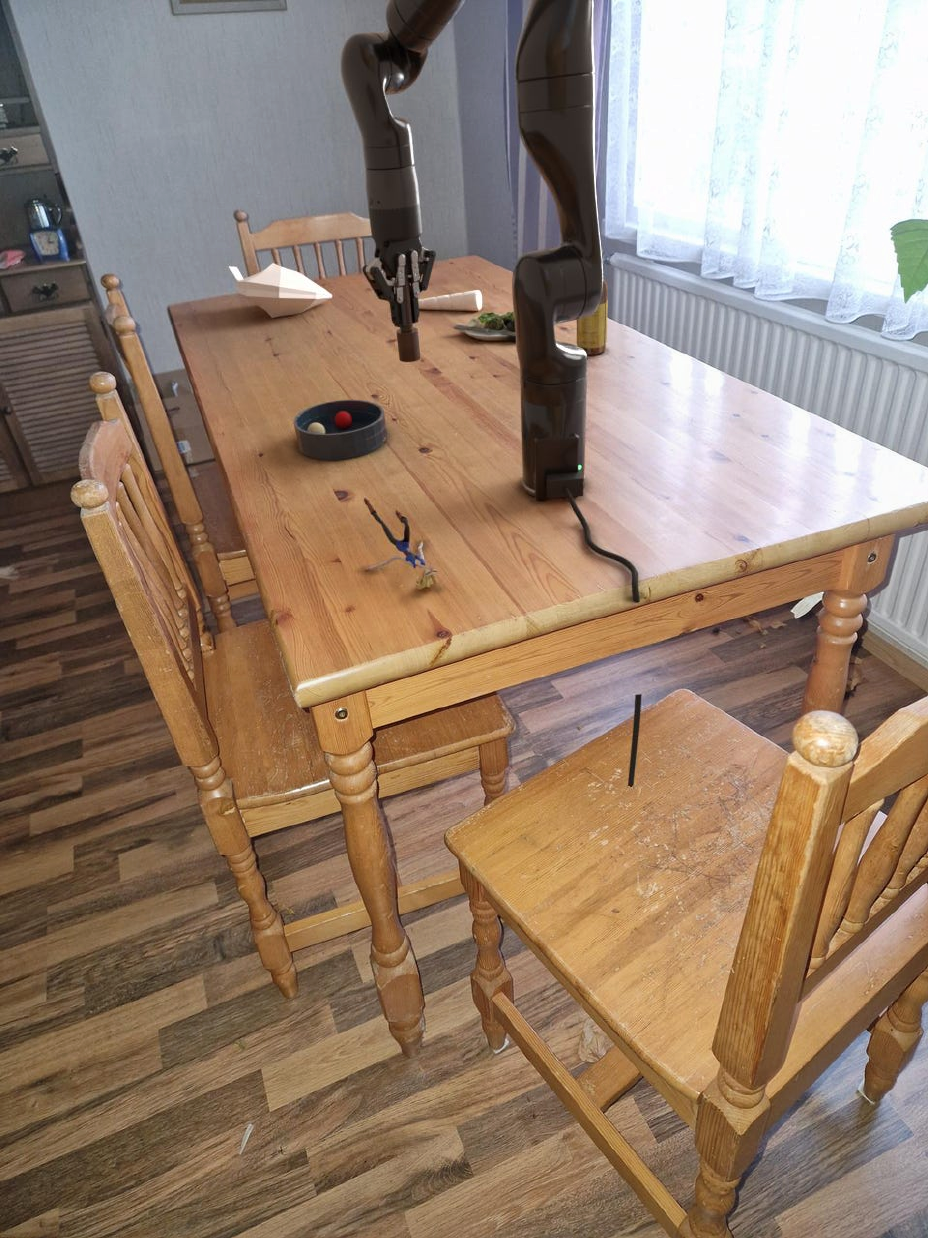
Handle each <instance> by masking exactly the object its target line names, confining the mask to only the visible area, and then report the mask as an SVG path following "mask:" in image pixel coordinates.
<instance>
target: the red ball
mask: <svg viewBox="0 0 928 1238" xmlns="http://www.w3.org/2000/svg"><path fill="white" fill-rule="evenodd" d="M335 423H336V425H337V426H338V427H339V428H341V429H346V428H348V427H349V426H350V425H351V423H352V418H351V416H350V414H349V413H347V412H345V411H341V412H339V413H337V415H336V416H335Z"/></svg>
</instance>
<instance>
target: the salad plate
mask: <svg viewBox="0 0 928 1238" xmlns="http://www.w3.org/2000/svg"><path fill="white" fill-rule="evenodd" d="M452 327H453V329H454V330H457V331H459V332H463V333H464V334H466V335H467V336H470V337H471V338H474V339H476V340H480V341H483V342H516V335H515V320H514V310H513V311H512V312H511V311H507V312H506V313H503V314H502V313H501V314H499V313H498V314H497V313H495V312H494V311H492V312H482V313H481V315H478V316H474V317H472V318H470V319H469V320H468V323H467V325H463V324H455V325H453V326H452Z"/></svg>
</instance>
